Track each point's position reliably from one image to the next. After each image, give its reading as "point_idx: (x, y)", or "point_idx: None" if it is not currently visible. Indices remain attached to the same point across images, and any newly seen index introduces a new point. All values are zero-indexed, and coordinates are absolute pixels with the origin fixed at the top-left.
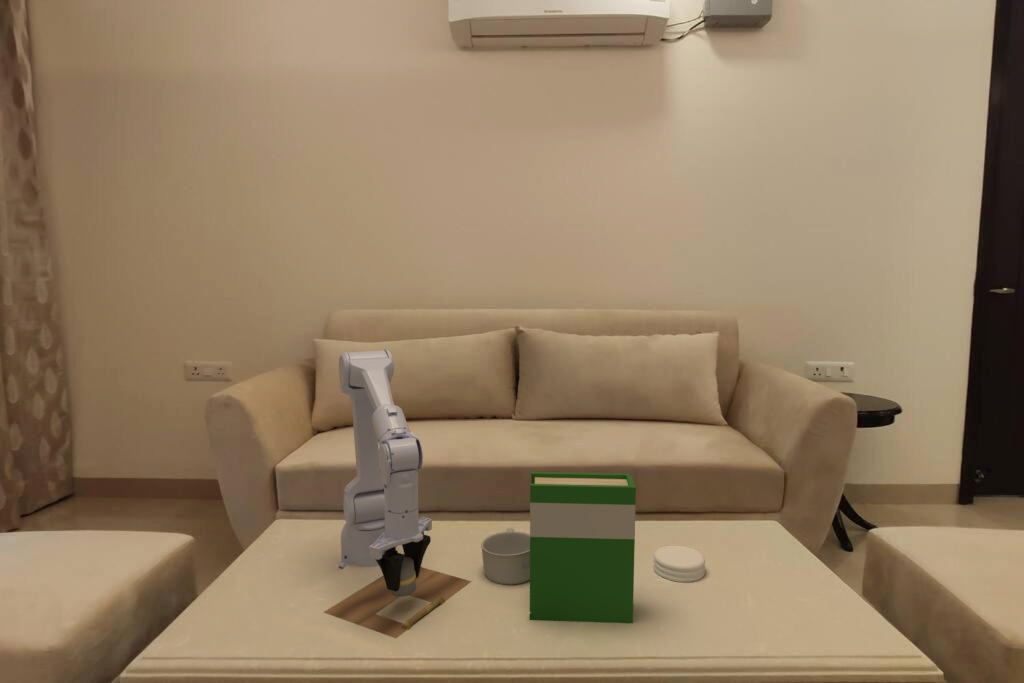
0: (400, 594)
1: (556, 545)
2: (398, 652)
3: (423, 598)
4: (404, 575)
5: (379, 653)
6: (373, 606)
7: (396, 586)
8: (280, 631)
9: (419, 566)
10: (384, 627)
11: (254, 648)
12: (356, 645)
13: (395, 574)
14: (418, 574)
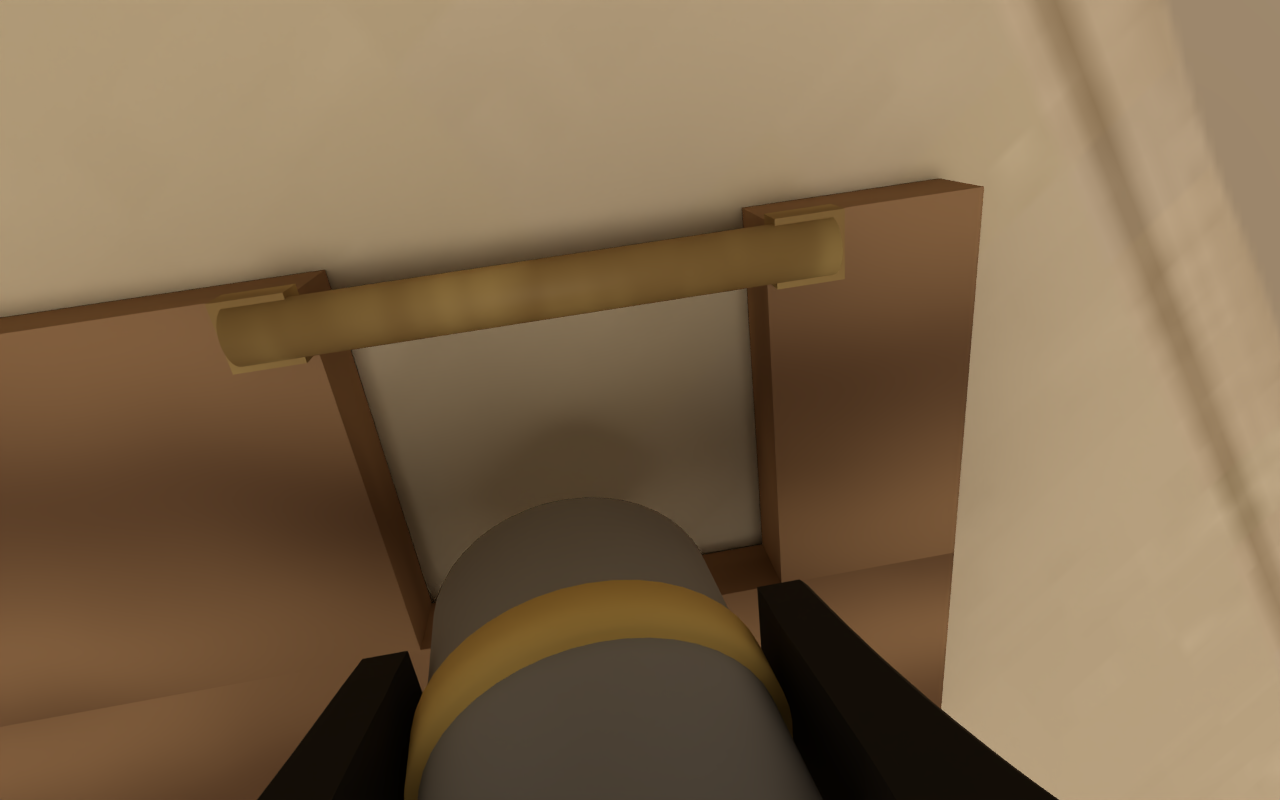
0: (696, 555)
1: None
2: (990, 103)
3: (349, 492)
4: (730, 711)
5: (1057, 218)
6: None
7: (840, 619)
8: (1082, 785)
9: (307, 785)
10: (897, 388)
11: (1242, 745)
12: (1038, 418)
13: (1010, 773)
14: (352, 684)
